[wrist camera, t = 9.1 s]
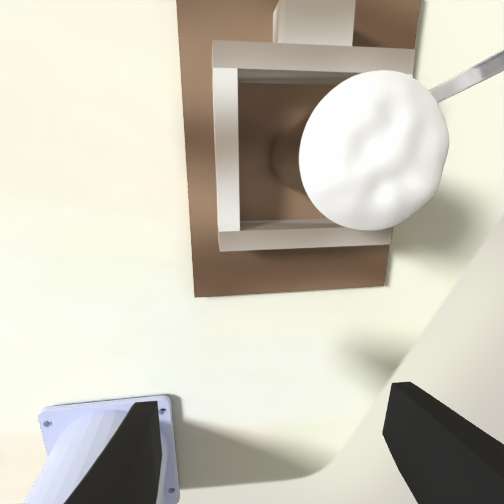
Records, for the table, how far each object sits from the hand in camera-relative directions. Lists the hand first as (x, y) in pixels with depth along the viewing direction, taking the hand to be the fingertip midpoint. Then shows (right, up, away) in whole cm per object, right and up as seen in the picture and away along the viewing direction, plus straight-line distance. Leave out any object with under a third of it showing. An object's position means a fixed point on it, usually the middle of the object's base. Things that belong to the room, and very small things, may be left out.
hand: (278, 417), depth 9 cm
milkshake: (+2, +11, +8) cm, 13 cm away
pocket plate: (+2, +10, +8) cm, 13 cm away
